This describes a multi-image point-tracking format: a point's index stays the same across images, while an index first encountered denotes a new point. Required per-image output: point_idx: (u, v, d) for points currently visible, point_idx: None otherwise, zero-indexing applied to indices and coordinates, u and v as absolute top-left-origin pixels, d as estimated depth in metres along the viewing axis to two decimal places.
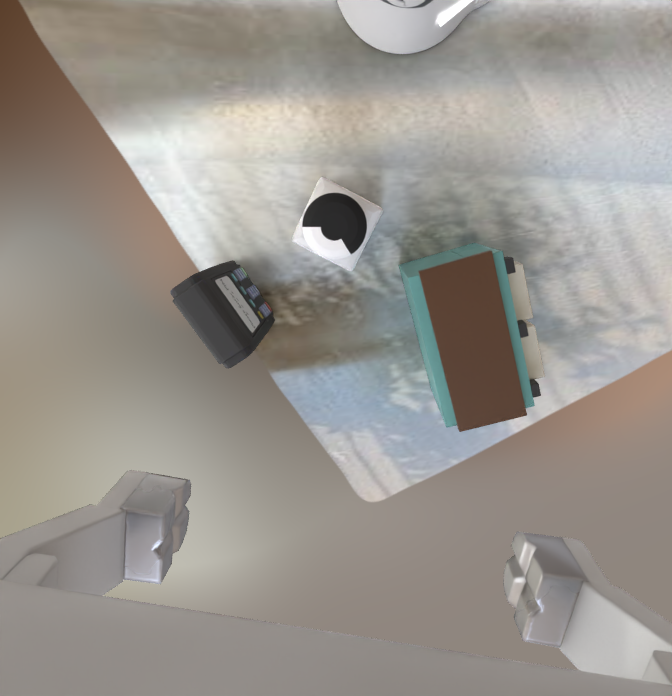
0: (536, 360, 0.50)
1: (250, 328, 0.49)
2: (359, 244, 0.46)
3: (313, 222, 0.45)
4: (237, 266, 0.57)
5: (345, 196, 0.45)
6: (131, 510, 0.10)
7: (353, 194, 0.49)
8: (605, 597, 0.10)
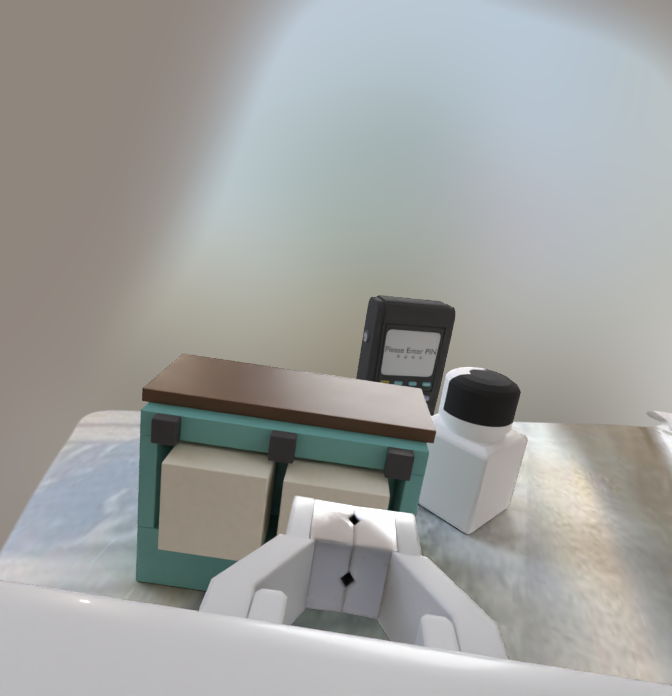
0: (202, 463, 0.26)
1: (390, 336, 0.51)
2: (460, 384, 0.39)
3: (489, 370, 0.42)
4: None
5: (517, 393, 0.39)
6: (321, 540, 0.10)
7: (507, 446, 0.40)
8: (405, 566, 0.10)
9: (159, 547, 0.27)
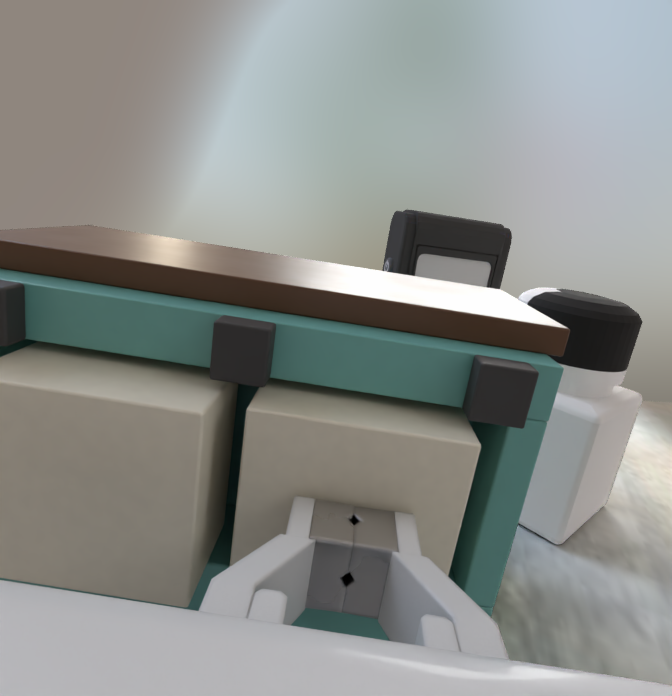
0: (56, 380, 0.11)
1: (421, 264, 0.37)
2: (549, 303, 0.24)
3: None
4: None
5: (639, 319, 0.24)
6: (321, 540, 0.10)
7: (621, 405, 0.25)
8: (405, 566, 0.10)
9: None
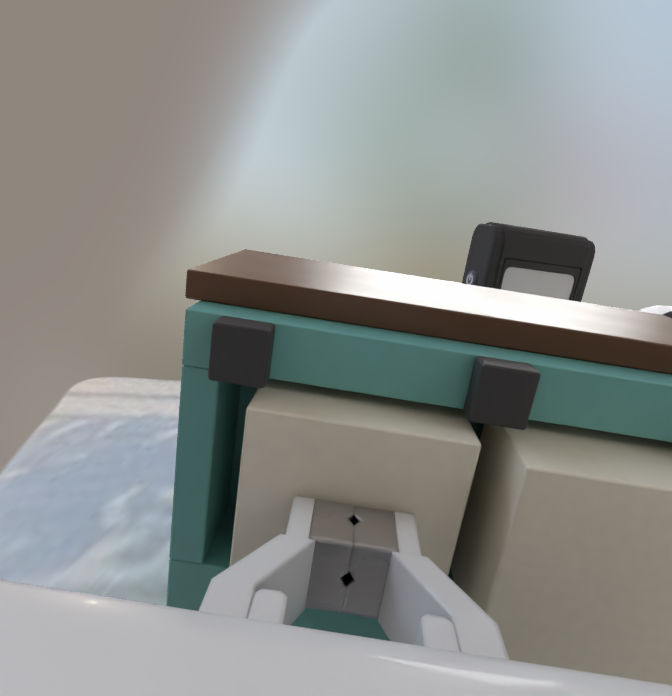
0: (331, 412, 0.12)
1: (508, 278, 0.36)
2: None
3: None
4: None
5: None
6: (321, 540, 0.10)
7: None
8: (405, 566, 0.10)
9: None
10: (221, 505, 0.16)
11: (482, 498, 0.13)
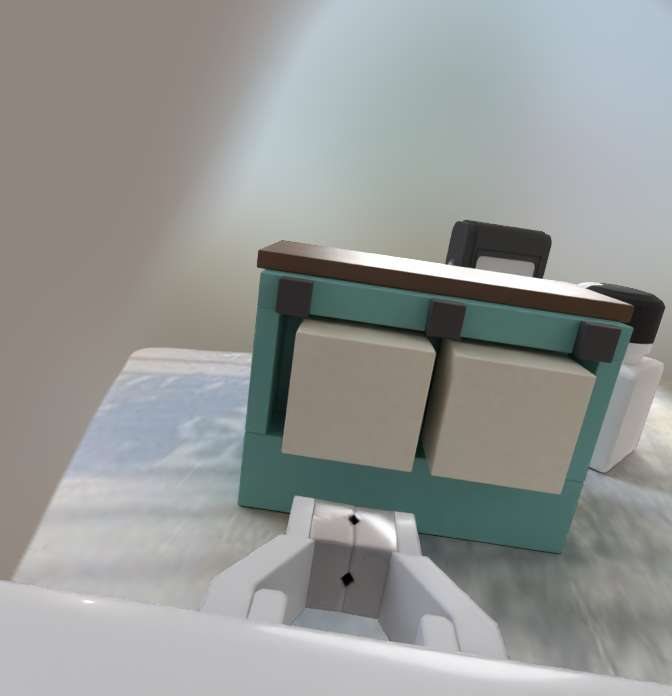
0: (346, 335, 0.20)
1: (480, 265, 0.45)
2: None
3: None
4: None
5: (663, 304, 0.33)
6: (321, 540, 0.10)
7: (649, 369, 0.33)
8: (405, 566, 0.10)
9: (283, 450, 0.21)
10: (274, 404, 0.24)
11: (437, 387, 0.22)
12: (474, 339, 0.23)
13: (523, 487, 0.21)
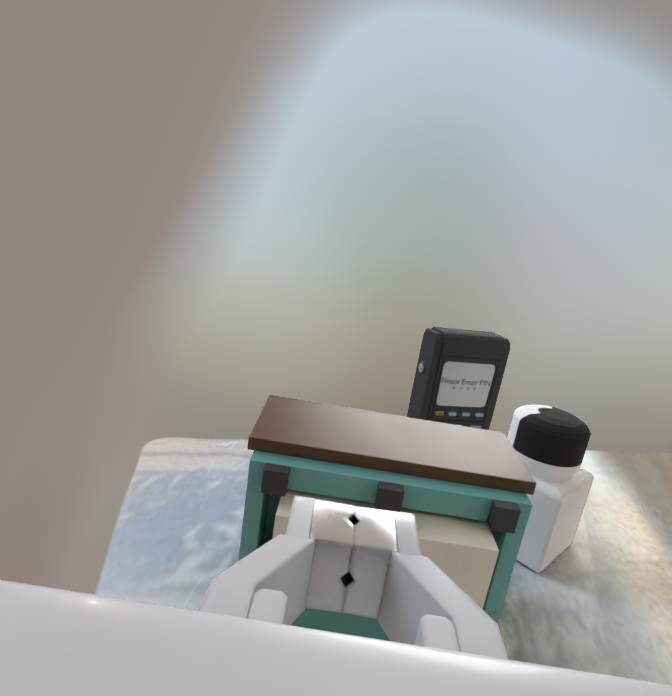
0: None
1: (446, 368, 0.52)
2: (533, 424, 0.40)
3: (556, 408, 0.43)
4: None
5: (588, 434, 0.40)
6: (321, 540, 0.10)
7: (577, 486, 0.40)
8: (405, 566, 0.10)
9: None
10: (260, 542, 0.31)
11: None
12: None
13: None
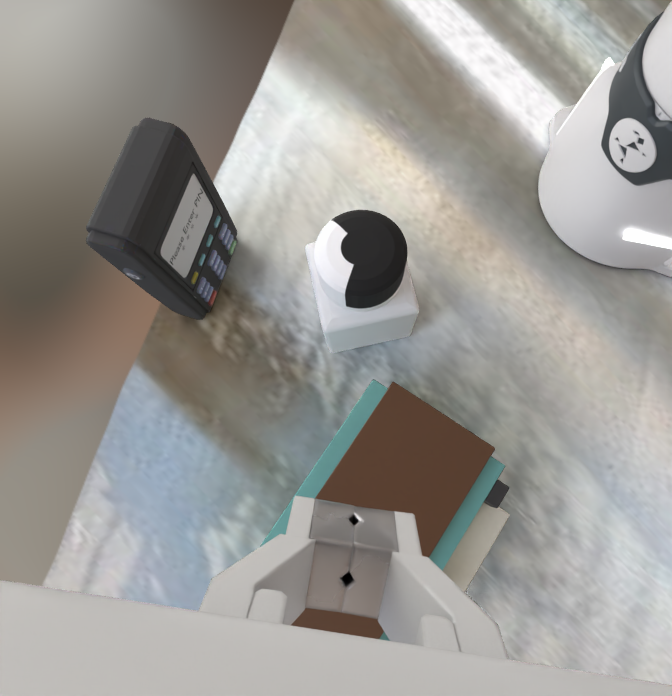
0: None
1: (165, 252, 0.33)
2: (364, 292, 0.31)
3: (346, 223, 0.32)
4: (233, 235, 0.43)
5: (403, 237, 0.32)
6: (321, 540, 0.10)
7: (407, 268, 0.36)
8: (405, 566, 0.10)
9: None
10: None
11: None
12: None
13: None
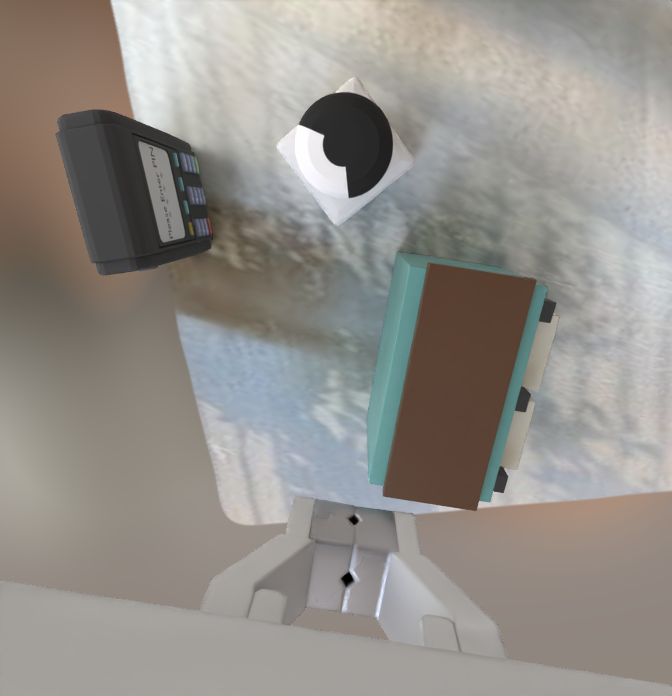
0: (517, 445, 0.37)
1: (163, 235, 0.32)
2: (366, 188, 0.31)
3: (317, 124, 0.29)
4: (190, 153, 0.39)
5: (378, 109, 0.29)
6: (321, 540, 0.10)
7: None
8: (405, 566, 0.10)
9: None
10: None
11: None
12: None
13: None
